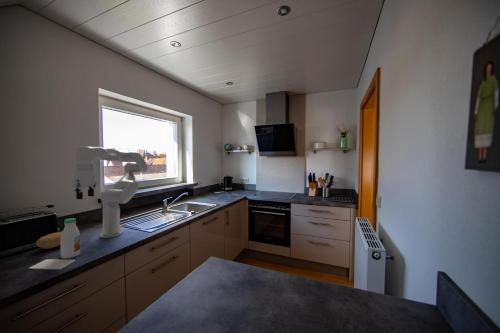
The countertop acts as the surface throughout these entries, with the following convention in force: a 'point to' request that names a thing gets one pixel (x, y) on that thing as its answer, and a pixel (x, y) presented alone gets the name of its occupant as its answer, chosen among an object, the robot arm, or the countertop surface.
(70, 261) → the pad
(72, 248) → the milk bottle
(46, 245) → the potato
